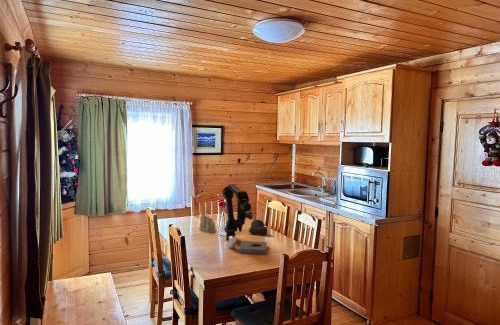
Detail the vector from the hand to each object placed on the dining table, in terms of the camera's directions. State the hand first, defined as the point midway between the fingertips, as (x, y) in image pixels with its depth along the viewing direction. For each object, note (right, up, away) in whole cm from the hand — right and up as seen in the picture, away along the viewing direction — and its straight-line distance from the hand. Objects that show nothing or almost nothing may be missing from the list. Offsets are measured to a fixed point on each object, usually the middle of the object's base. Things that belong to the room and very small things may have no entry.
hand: (240, 230), depth 248 cm
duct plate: (+9, -12, -5) cm, 16 cm away
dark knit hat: (+14, -10, +37) cm, 41 cm away
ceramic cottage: (-28, -8, +44) cm, 53 cm away
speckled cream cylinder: (-6, -12, -3) cm, 14 cm away
